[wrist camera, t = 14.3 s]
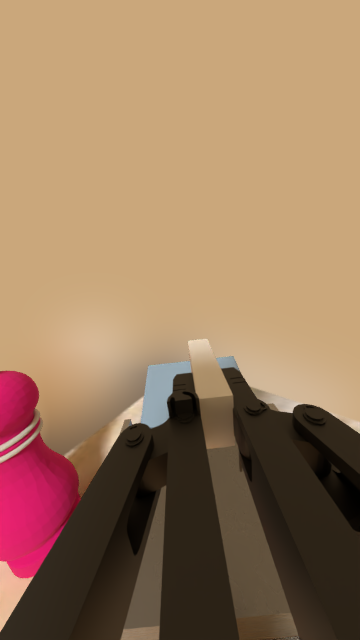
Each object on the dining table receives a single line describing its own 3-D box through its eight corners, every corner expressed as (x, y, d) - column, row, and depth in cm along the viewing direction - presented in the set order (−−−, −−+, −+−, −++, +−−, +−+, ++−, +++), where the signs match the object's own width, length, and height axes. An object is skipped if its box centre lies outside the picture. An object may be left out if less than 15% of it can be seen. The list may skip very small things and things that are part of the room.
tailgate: (257, 423, 26) (232, 364, 36) (259, 415, 25) (233, 356, 35) (143, 436, 26) (150, 373, 36) (139, 428, 25) (148, 365, 35)
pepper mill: (82, 476, 24) (33, 336, 18) (93, 537, 18) (27, 358, 13) (11, 523, 20) (-77, 362, 14) (-5, 621, 14) (-159, 411, 9)
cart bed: (280, 440, 25) (282, 402, 24) (400, 633, 12) (424, 576, 10) (125, 457, 26) (116, 420, 24) (68, 665, 12) (37, 615, 10)
